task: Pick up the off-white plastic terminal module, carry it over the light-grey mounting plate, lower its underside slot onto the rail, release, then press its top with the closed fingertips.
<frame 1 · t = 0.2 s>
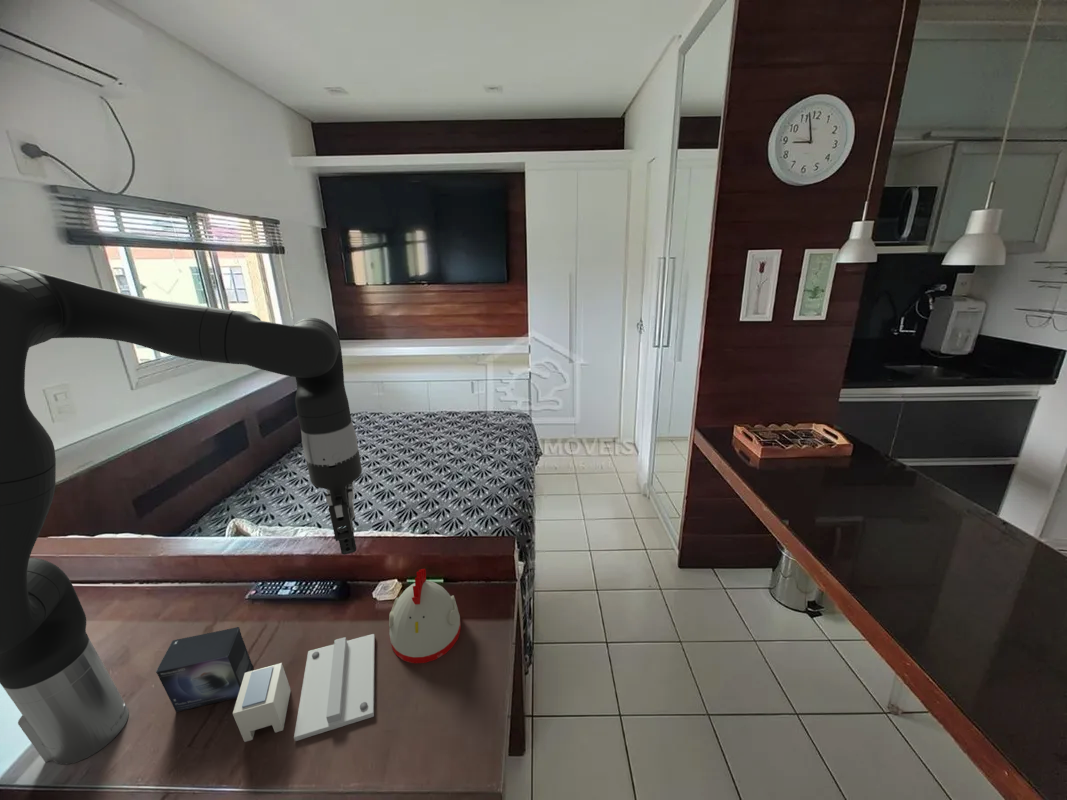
hand: (349, 535, 74), 28 cm above the table, fingers open, 8 cm apart
mounting plate: (339, 683, 79), on the table
kitchen timer: (426, 632, 89), on the table
module: (268, 714, 74), on the table
small box: (216, 689, 79), on the table
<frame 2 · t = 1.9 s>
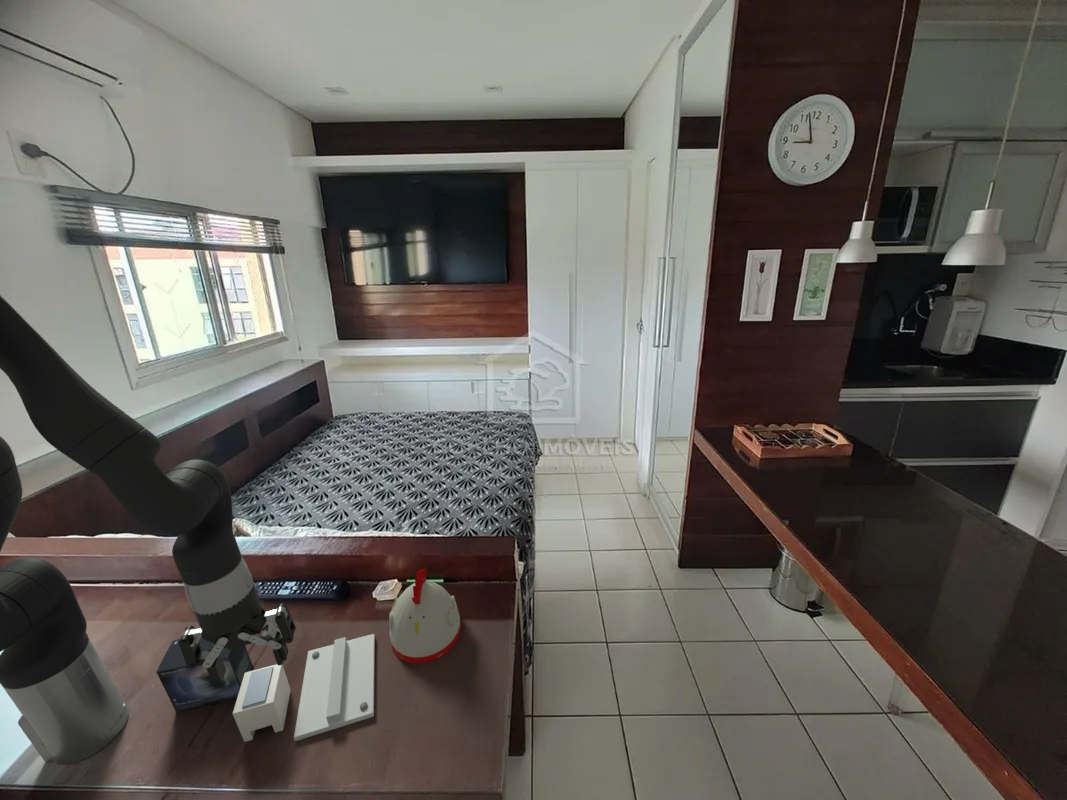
hand: (252, 668, 70), 11 cm above the table, fingers open, 8 cm apart
nothing on the table moved.
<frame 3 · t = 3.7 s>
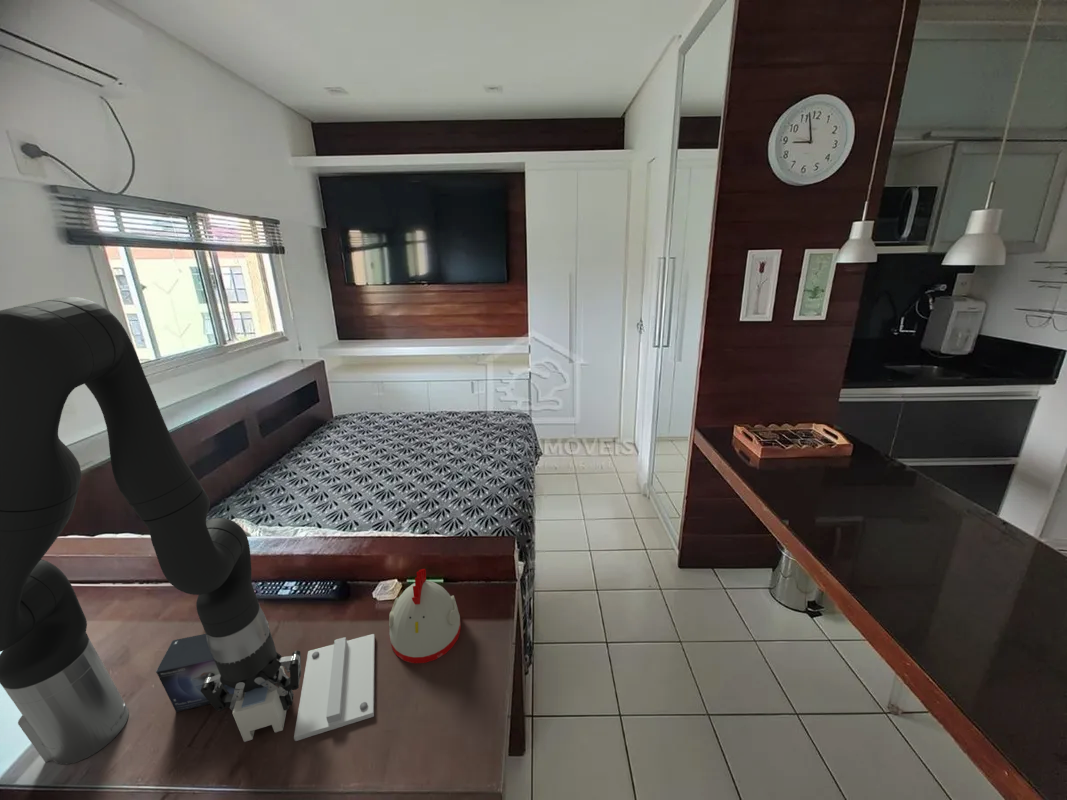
hand: (267, 710, 74), 1 cm above the table, fingers closed on module, 5 cm apart
module: (268, 714, 74), on the table, touching gripper
everything else where it was.
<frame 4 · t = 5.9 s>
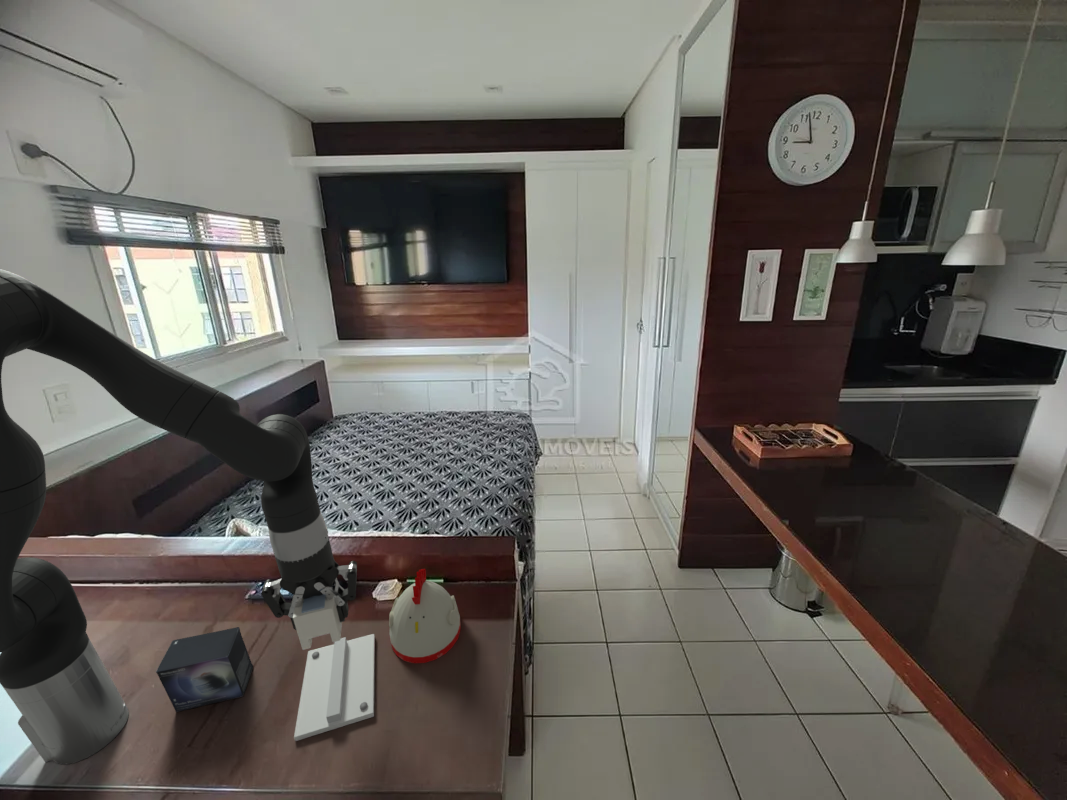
hand: (323, 622, 73), 15 cm above the table, fingers closed on module, 5 cm apart
module: (324, 627, 74), point 14 cm above the table, touching gripper
everything else where it was.
when the fingers open (3 cm above the table, at t = 8.3 s): module stays where it is, resting on mounting plate.
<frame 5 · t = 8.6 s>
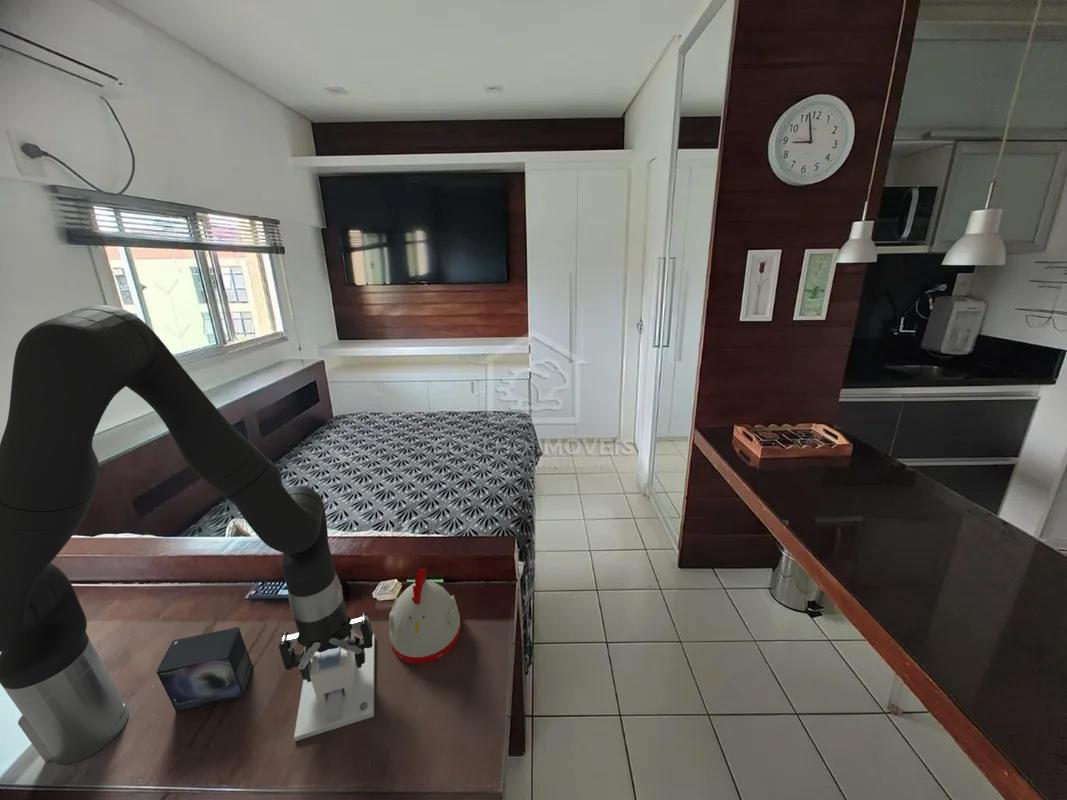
hand: (335, 670, 78), 3 cm above the table, fingers open, 7 cm apart
module: (337, 680, 79), point 1 cm above the table, touching mounting plate
everything else where it was.
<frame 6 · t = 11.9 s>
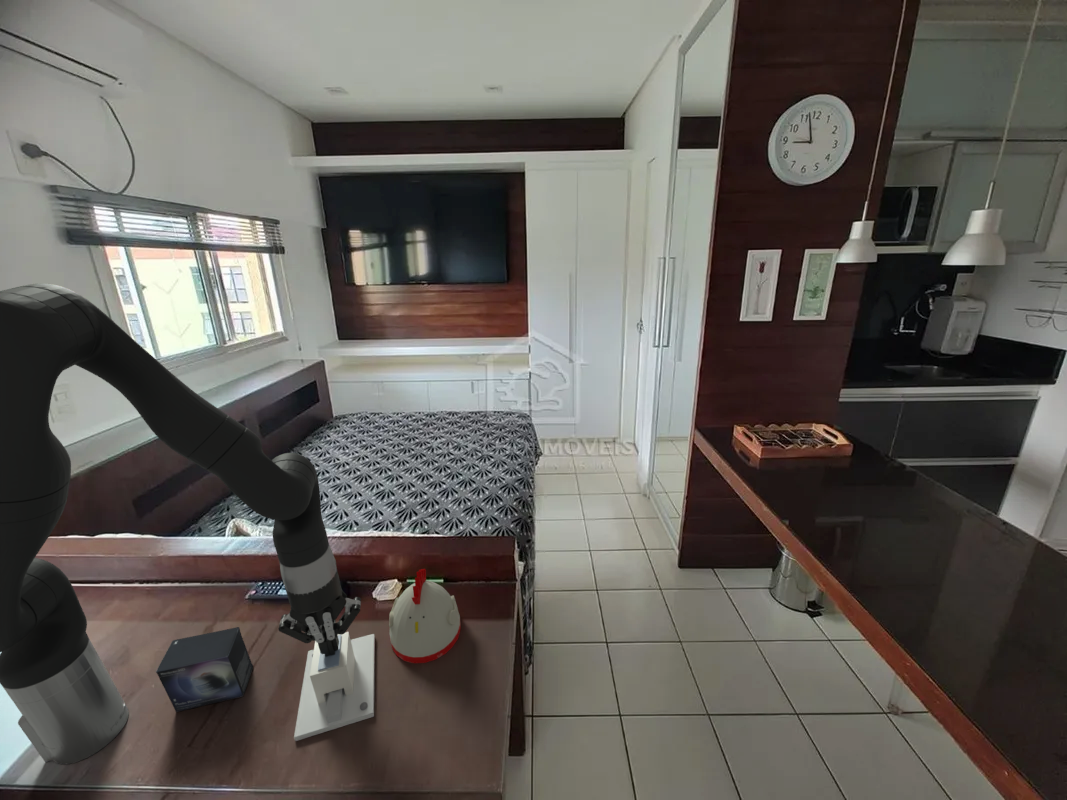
hand: (331, 651, 76), 8 cm above the table, fingers closed
module: (337, 680, 79), point 1 cm above the table, touching gripper, mounting plate
everything else where it was.
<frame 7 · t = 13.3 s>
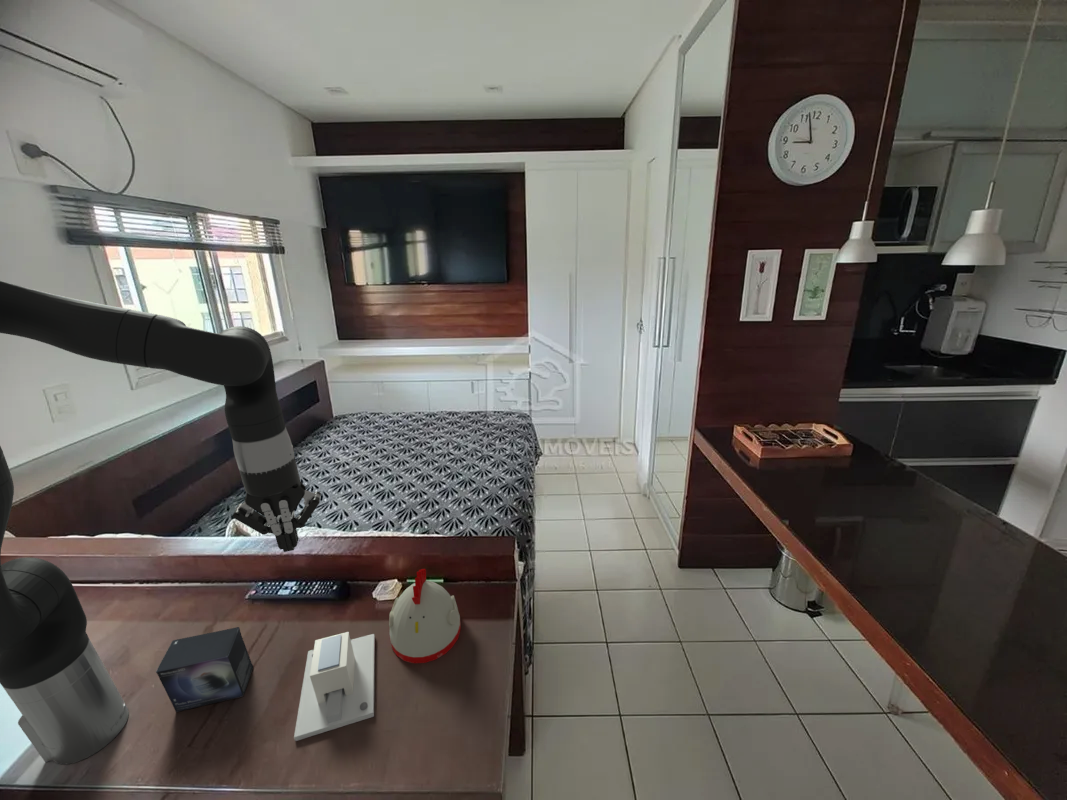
hand: (290, 547, 74), 26 cm above the table, fingers closed
module: (337, 680, 79), point 1 cm above the table, touching mounting plate
everything else where it was.
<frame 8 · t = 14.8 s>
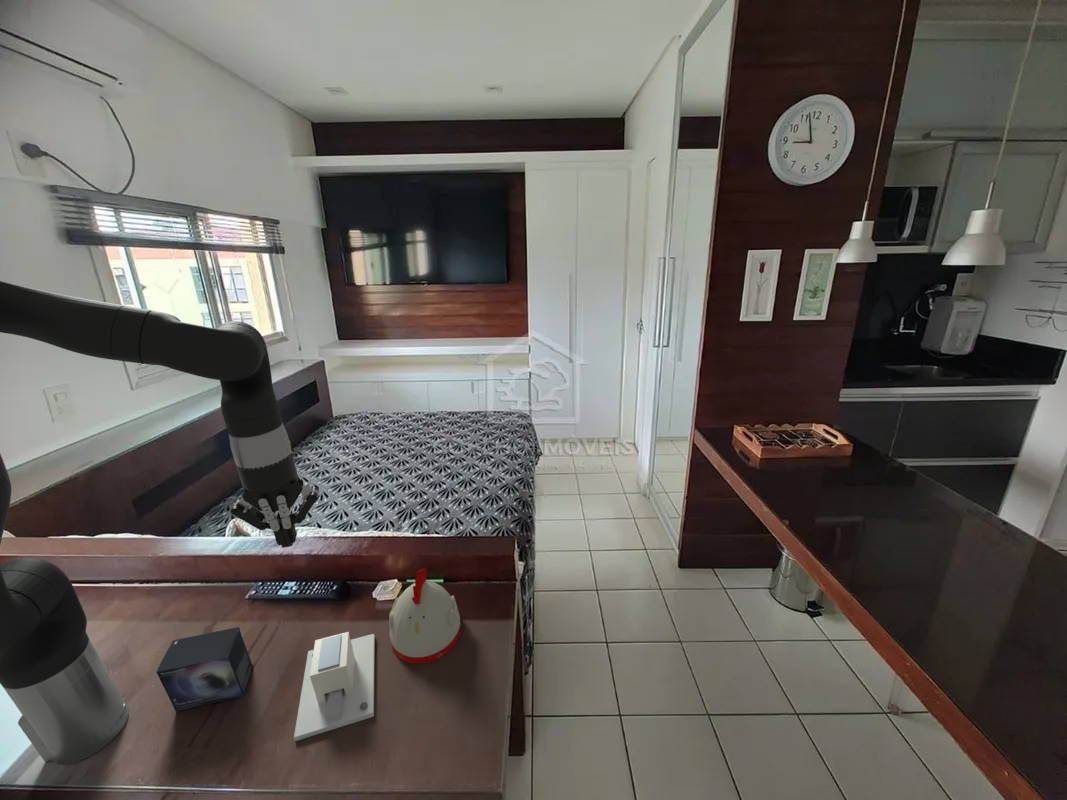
hand: (288, 543, 74), 27 cm above the table, fingers closed
nothing on the table moved.
at the end: module inside the target area on the mounting plate (0.1 cm from its centre), point 1.0 cm above the mounting plate's base; module tilted 0°; the gripper is holding nothing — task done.
